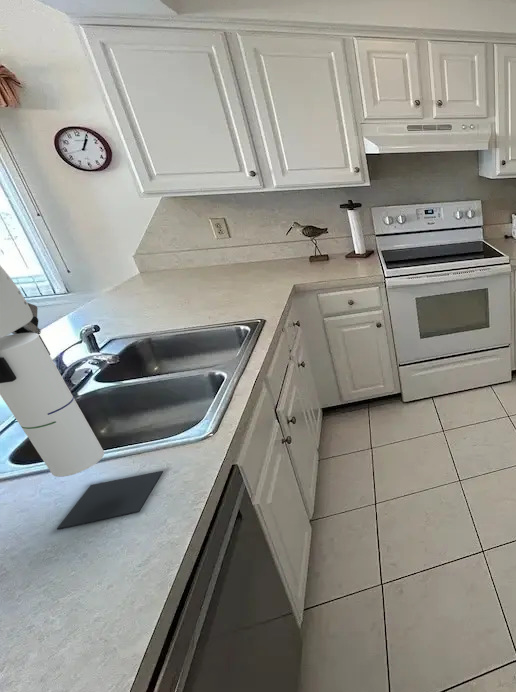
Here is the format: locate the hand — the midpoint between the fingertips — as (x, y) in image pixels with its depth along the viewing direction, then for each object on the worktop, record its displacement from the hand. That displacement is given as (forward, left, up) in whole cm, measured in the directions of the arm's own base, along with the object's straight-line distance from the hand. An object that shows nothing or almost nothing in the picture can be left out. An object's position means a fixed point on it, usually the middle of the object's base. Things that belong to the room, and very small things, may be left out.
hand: (21, 368), depth 67 cm
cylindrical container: (0, 0, -20) cm, 20 cm away
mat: (0, +2, -32) cm, 32 cm away
